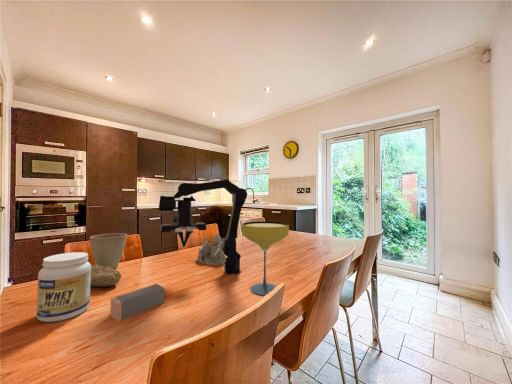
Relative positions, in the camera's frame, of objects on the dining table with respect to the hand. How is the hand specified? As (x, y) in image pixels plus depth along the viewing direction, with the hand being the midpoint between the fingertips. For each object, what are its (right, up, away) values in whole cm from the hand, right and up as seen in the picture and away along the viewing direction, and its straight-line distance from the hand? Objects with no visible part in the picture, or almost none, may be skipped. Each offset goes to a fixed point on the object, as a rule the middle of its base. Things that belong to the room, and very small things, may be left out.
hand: (183, 246), depth 97 cm
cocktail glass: (+35, -13, -13) cm, 40 cm away
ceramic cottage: (+8, -14, +23) cm, 28 cm away
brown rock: (-31, -13, -8) cm, 35 cm away
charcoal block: (-1, -10, -22) cm, 24 cm away
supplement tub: (-26, -12, -31) cm, 42 cm away
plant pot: (-40, -13, +9) cm, 43 cm away
